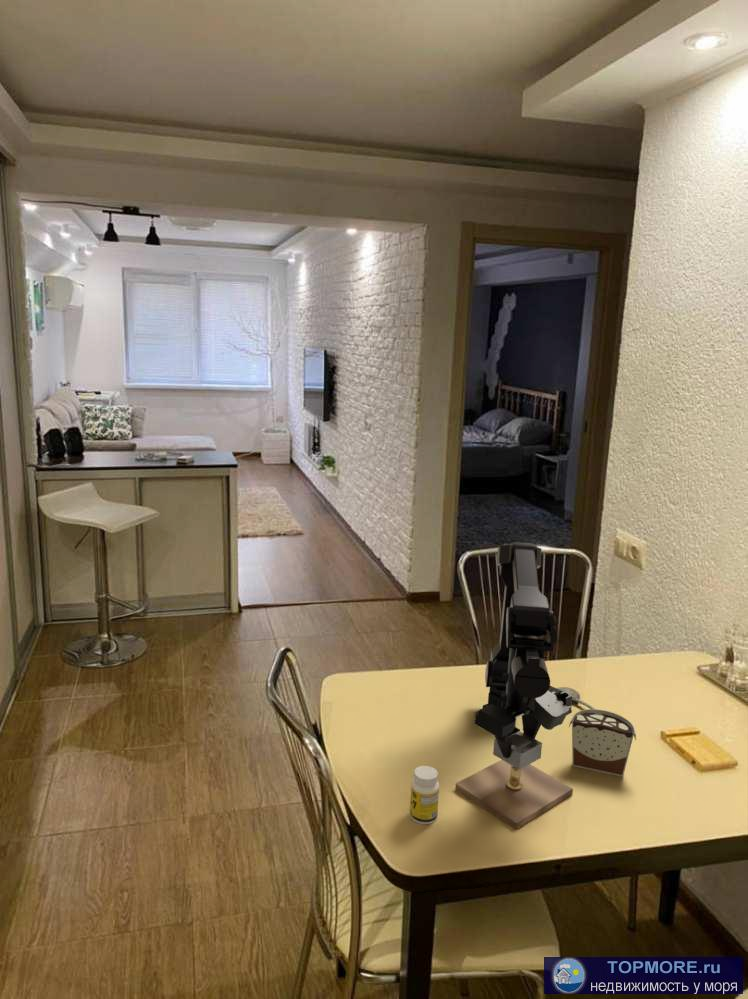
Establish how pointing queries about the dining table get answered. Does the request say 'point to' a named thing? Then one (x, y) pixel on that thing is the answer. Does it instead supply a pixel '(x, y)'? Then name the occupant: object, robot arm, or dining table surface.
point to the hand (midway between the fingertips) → (517, 751)
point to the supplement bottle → (424, 795)
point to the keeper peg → (514, 779)
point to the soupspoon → (575, 696)
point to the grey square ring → (521, 750)
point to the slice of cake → (601, 741)
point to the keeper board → (514, 792)
